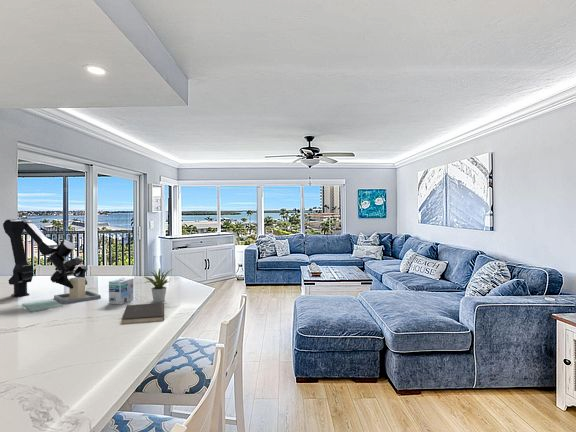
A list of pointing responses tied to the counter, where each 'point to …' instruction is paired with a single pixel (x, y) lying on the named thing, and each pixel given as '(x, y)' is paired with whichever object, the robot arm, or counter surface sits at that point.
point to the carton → (77, 288)
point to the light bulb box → (121, 290)
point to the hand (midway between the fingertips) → (79, 286)
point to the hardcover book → (143, 313)
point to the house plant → (158, 286)
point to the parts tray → (88, 296)
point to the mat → (41, 305)
